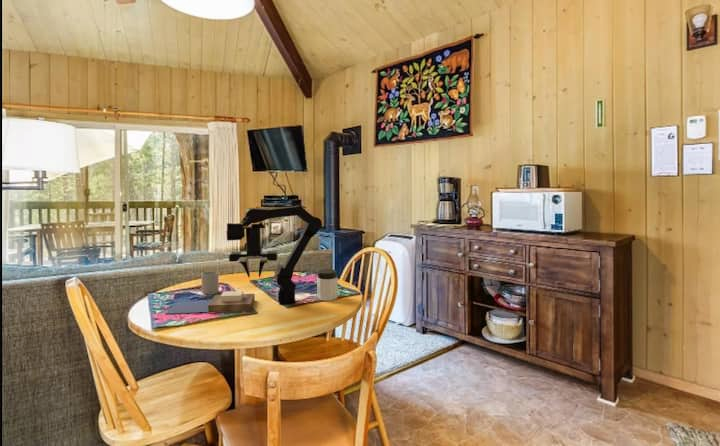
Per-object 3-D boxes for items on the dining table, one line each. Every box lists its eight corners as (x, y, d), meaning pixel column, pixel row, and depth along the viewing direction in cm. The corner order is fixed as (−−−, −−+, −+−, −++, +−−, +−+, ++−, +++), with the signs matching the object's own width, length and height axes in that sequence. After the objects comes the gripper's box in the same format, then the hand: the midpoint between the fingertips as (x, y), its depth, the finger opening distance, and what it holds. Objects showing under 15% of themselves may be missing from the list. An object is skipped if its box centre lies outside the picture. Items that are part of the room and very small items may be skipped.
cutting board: (254, 300, 181) (254, 293, 181) (250, 311, 167) (250, 303, 167) (215, 301, 179) (215, 294, 179) (208, 312, 165) (208, 305, 165)
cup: (205, 295, 188) (204, 275, 187) (197, 290, 195) (196, 271, 194) (221, 292, 193) (220, 273, 191) (212, 287, 200) (212, 269, 199)
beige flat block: (243, 296, 176) (243, 291, 176) (241, 301, 170) (241, 295, 170) (223, 297, 175) (223, 291, 175) (220, 301, 169) (220, 296, 169)
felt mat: (215, 301, 179) (215, 300, 179) (208, 312, 165) (208, 311, 165) (176, 303, 177) (176, 302, 177) (165, 314, 163) (165, 313, 163)
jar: (315, 296, 188) (315, 269, 186) (332, 294, 191) (332, 268, 189) (321, 302, 179) (321, 274, 178) (339, 299, 183) (339, 272, 181)
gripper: (278, 235, 180) (278, 271, 182) (232, 236, 178) (233, 272, 180) (276, 240, 169) (277, 278, 171) (228, 240, 167) (229, 279, 169)
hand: (254, 277), depth 173 cm, fingers open, 4 cm apart
